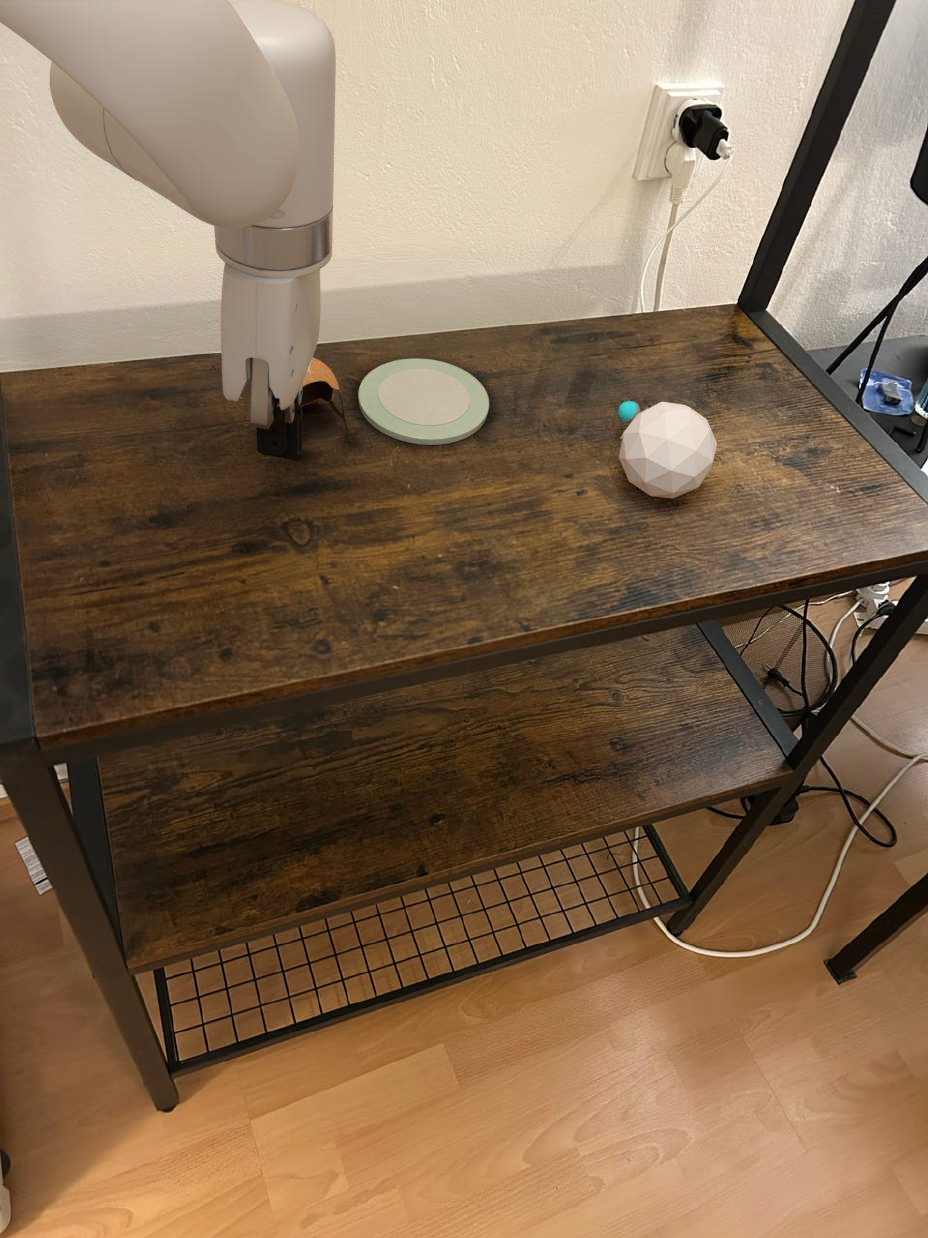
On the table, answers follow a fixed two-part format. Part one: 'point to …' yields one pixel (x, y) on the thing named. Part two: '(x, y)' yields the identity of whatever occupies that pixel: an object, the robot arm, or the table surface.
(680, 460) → the perfume bottle
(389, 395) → the plate
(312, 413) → the table surface
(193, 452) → the table surface
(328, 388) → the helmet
